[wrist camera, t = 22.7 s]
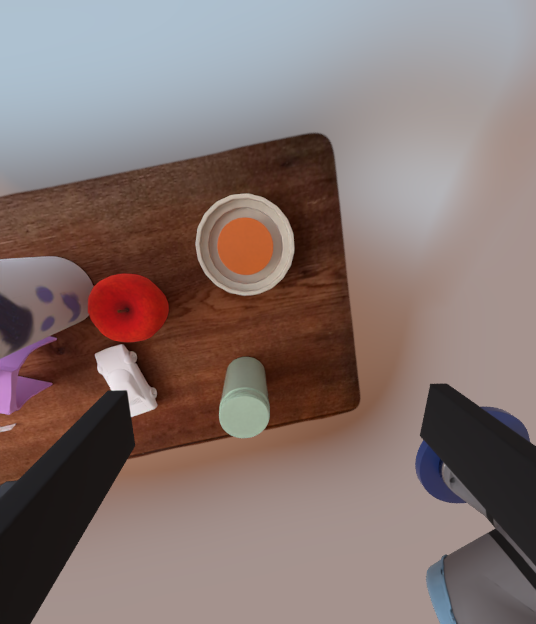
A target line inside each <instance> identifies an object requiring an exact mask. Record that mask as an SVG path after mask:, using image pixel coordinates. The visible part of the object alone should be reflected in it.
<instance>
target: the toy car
mask: <svg viewBox="0 0 536 624" xmlns="http://www.w3.org/2000/svg"><path fill="white" fill-rule="evenodd" d="M95 358H96V361H97V363H98V365H97V369H98V371H99V373H100V374H102V375H103V376H104V378H105V379H106V381H107V383H108V385H109V386H110V388H111V390H112V391H115V390H127V393H128V400H129V407H130V413H131V417H133V416H136V415H139V414H142V413H145V412H147V411H150V410H153V409H155V408H156V407H157V406H158V404H157V402H156V400H155V398H156V397H157V391H156V389H155V388H154V387H150V386H149V385H148V383H147V381H146V380H145V378H144V376H143V374H142V373H141V371H140V369H139V367H138V366H137V364H136V363H135V362H136V361H137V355H136V353H135V352H133V351H130V352H129V351H128V350H127V348H126V347H125V346H124V345H123V344H120V345H116V346H113V347H109V348H107V349H104V350H102V351H100V352H98V353H96V354H95Z"/></svg>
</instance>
